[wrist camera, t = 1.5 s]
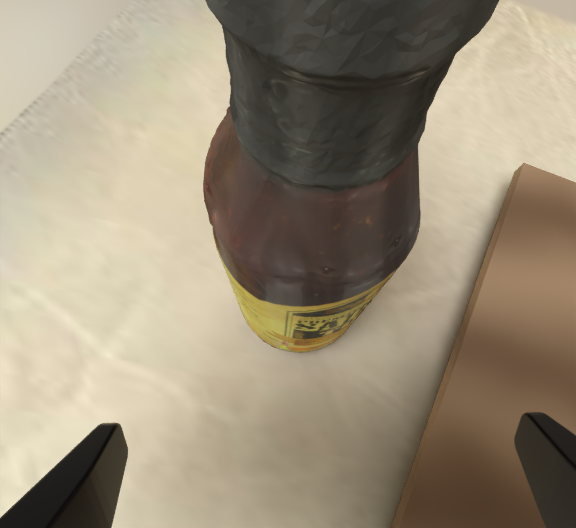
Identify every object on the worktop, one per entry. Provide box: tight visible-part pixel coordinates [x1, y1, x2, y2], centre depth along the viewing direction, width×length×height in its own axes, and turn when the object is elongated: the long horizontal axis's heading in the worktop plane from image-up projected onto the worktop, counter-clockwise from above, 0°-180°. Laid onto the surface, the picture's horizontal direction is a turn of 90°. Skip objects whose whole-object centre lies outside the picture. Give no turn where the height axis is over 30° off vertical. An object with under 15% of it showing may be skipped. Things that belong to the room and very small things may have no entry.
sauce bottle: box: [203, 0, 499, 353], centre depth 14 cm, size 6×6×20 cm
